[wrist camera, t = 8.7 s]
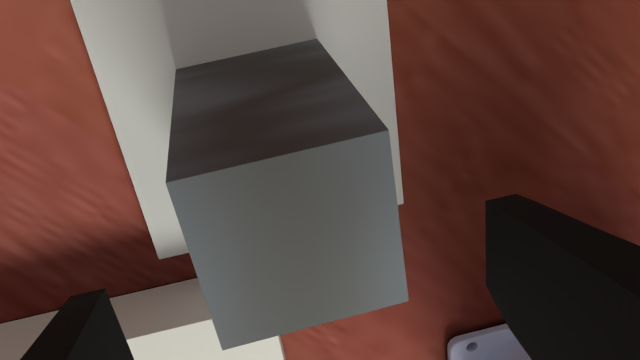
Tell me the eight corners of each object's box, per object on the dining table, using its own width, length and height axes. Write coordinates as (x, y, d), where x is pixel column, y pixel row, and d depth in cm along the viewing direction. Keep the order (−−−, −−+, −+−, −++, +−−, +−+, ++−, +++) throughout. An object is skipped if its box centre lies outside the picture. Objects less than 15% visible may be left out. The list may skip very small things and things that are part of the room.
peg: (316, 38, 18) (388, 130, 11) (337, 163, 20) (408, 301, 13) (175, 69, 17) (165, 183, 11) (212, 193, 20) (222, 350, 13)
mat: (377, -59, 17) (382, -57, 17) (399, 197, 22) (403, 203, 21) (73, -4, 16) (69, -1, 16) (159, 251, 21) (158, 259, 20)
